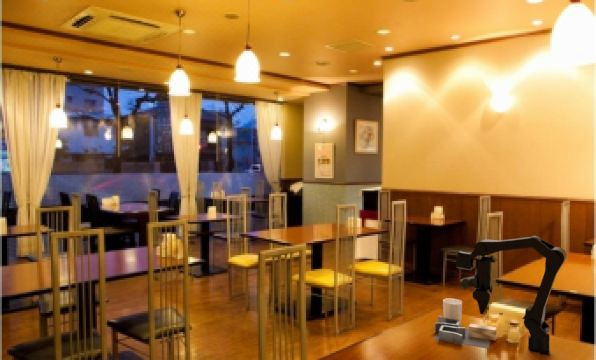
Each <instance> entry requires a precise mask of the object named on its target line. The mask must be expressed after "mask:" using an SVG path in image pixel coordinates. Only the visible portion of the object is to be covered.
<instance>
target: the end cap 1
mask: <svg viewBox="0 0 596 360" xmlns="http://www.w3.org/2000/svg"><path fill="white" fill-rule="evenodd" d="M437 320H438V321H437V322H434V334H437V333H439V329H440V327H441V325H446V326H453V327H461V324H460V320H457V319H450V318H444V316H441V315H438V319H437Z"/></svg>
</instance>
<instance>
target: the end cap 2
mask: <svg viewBox="0 0 596 360" xmlns="http://www.w3.org/2000/svg"><path fill="white" fill-rule="evenodd" d="M465 329H466V327H465V326H460V327H453V326H446V325H441V327H440V329H439V340H438V342H445V343H449V344H454V345H457V346H461V347H463V346H464V345H463V338H465Z"/></svg>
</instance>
